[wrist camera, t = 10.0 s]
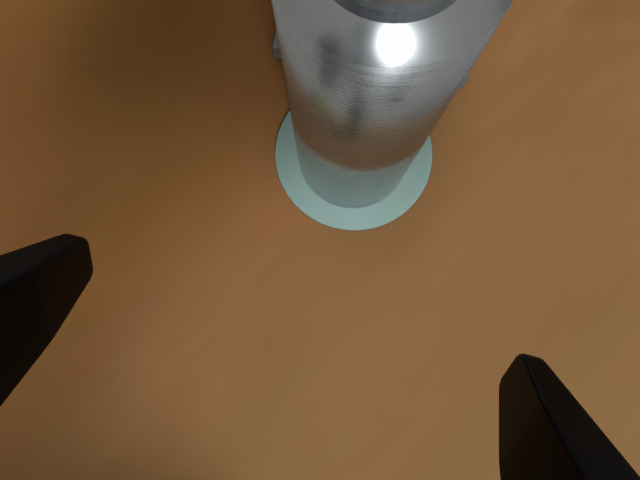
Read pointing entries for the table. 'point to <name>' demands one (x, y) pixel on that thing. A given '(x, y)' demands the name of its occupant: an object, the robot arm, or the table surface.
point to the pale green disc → (341, 216)
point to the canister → (373, 84)
